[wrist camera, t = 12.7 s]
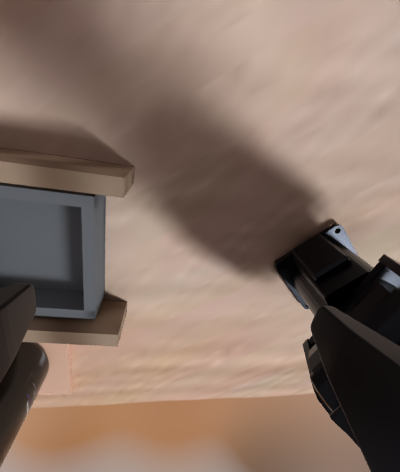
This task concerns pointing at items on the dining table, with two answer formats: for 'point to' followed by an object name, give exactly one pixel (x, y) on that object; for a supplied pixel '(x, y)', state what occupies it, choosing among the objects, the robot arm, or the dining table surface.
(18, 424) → the supplement bottle
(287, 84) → the dining table surface
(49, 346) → the tile
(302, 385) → the dining table surface
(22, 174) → the walled lane
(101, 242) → the box
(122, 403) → the dining table surface
